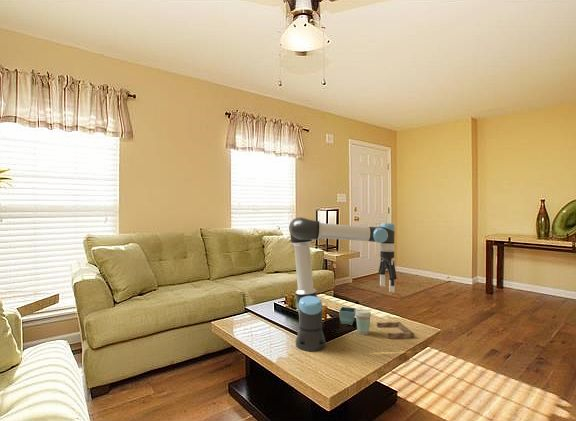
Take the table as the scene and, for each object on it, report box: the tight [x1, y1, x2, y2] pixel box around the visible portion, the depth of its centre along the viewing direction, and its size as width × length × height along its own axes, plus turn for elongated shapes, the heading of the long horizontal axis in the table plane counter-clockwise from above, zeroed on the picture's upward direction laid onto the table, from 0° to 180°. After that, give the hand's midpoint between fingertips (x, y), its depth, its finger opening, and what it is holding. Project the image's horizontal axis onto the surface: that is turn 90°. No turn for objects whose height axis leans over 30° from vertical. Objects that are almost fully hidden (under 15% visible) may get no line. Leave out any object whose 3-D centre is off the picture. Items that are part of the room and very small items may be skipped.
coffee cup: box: [355, 308, 372, 336], centre depth 177 cm, size 9×8×12 cm
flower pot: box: [338, 306, 357, 326], centre depth 190 cm, size 9×9×9 cm
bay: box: [376, 321, 415, 340], centre depth 178 cm, size 14×18×2 cm
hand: (387, 288), depth 179 cm, fingers open, 13 cm apart
